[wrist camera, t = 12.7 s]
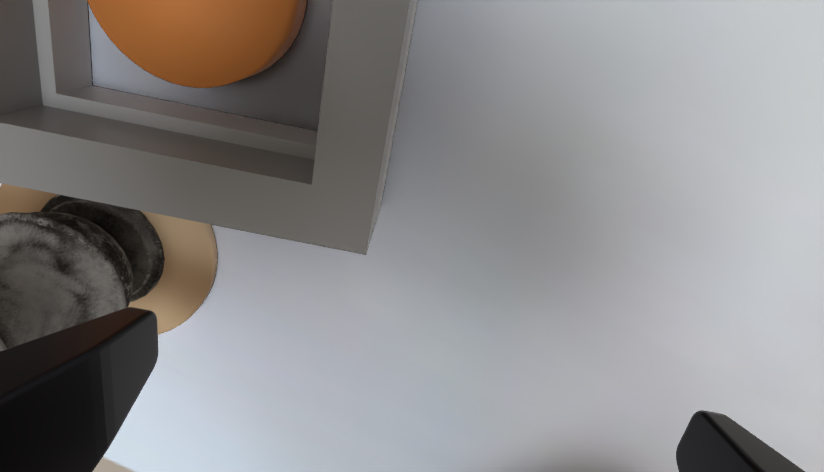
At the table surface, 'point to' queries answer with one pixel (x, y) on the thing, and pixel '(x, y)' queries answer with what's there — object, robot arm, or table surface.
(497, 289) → the table surface
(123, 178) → the breaker guard
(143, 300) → the coaster
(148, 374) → the robot arm
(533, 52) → the table surface
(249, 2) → the button
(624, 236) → the table surface
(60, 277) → the salt shaker
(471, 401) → the table surface
